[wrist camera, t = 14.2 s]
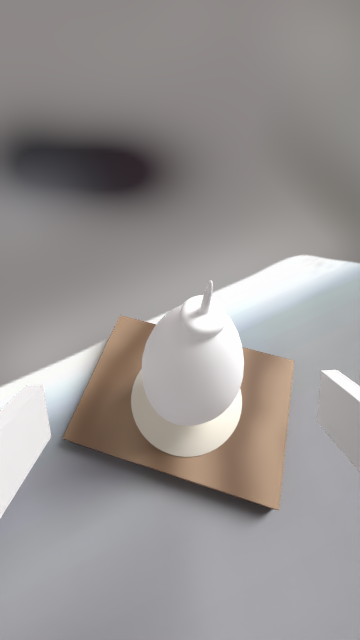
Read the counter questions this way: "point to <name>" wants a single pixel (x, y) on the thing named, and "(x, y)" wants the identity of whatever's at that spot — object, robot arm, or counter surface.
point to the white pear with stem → (193, 362)
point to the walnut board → (189, 441)
